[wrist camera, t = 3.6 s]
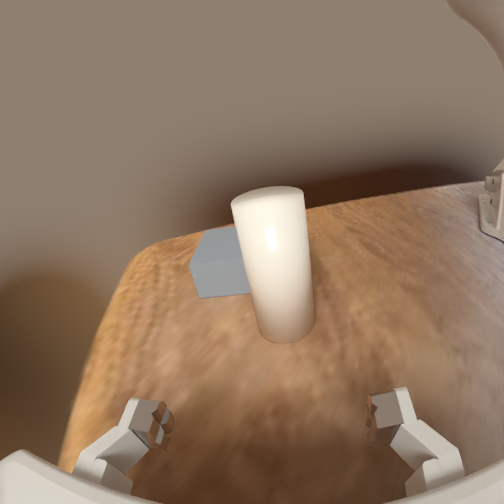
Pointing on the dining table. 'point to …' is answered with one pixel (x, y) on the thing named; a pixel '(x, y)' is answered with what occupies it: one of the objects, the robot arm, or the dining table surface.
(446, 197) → the dining table surface
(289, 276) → the white pillar candle
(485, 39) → the robot arm
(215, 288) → the plinth
